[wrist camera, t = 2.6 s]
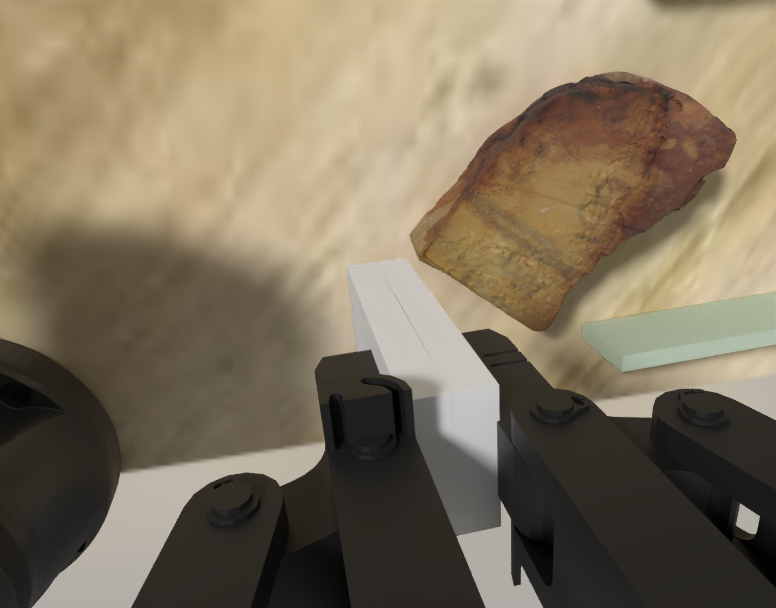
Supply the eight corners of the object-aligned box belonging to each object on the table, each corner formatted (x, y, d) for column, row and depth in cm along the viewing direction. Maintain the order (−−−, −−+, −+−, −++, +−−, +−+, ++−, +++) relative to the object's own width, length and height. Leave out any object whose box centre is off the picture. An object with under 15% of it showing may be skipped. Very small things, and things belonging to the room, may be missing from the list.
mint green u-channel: (581, 338, 36) (621, 372, 32) (601, -74, 28) (658, -99, 24) (798, 301, 39) (861, 328, 34) (877, -90, 30) (973, -116, 26)
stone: (496, 327, 35) (532, 365, 30) (391, 224, 32) (414, 250, 27) (686, 143, 33) (756, 154, 29) (597, 13, 30) (660, 0, 25)
